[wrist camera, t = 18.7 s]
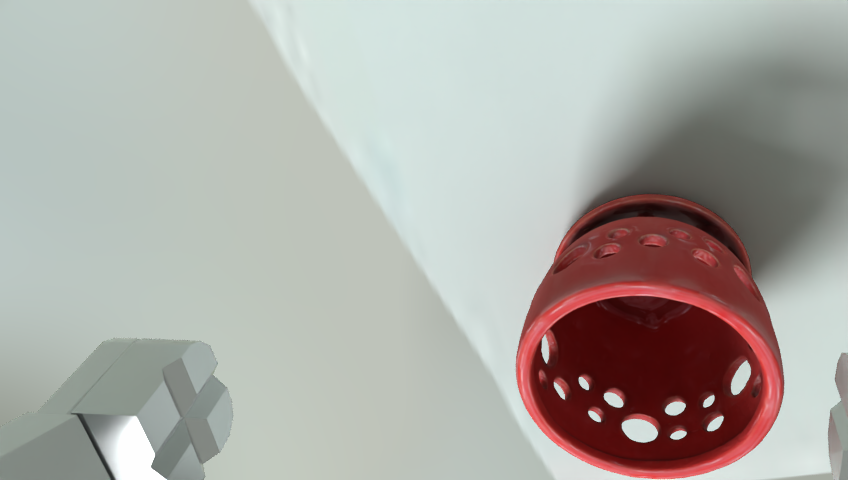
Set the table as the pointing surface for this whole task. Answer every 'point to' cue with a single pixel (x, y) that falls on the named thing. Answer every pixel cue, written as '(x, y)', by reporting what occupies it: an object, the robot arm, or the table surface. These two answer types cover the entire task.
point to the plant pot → (651, 340)
